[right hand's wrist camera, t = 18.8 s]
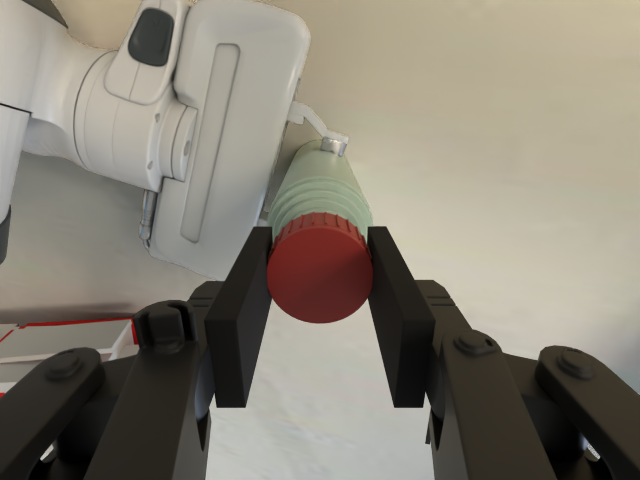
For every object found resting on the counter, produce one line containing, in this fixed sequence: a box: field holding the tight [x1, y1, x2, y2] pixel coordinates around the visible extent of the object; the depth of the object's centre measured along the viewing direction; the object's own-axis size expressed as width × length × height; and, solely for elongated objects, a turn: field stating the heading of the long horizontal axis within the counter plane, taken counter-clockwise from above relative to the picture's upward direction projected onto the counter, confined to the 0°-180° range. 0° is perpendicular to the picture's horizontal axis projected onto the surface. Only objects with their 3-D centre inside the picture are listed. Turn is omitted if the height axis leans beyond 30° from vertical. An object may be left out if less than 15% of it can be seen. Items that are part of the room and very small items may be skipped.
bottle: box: [267, 140, 373, 243], centre depth 23 cm, size 5×5×22 cm
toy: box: [0, 318, 139, 453], centre depth 36 cm, size 12×13×30 cm
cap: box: [267, 212, 373, 323], centre depth 14 cm, size 4×4×2 cm
